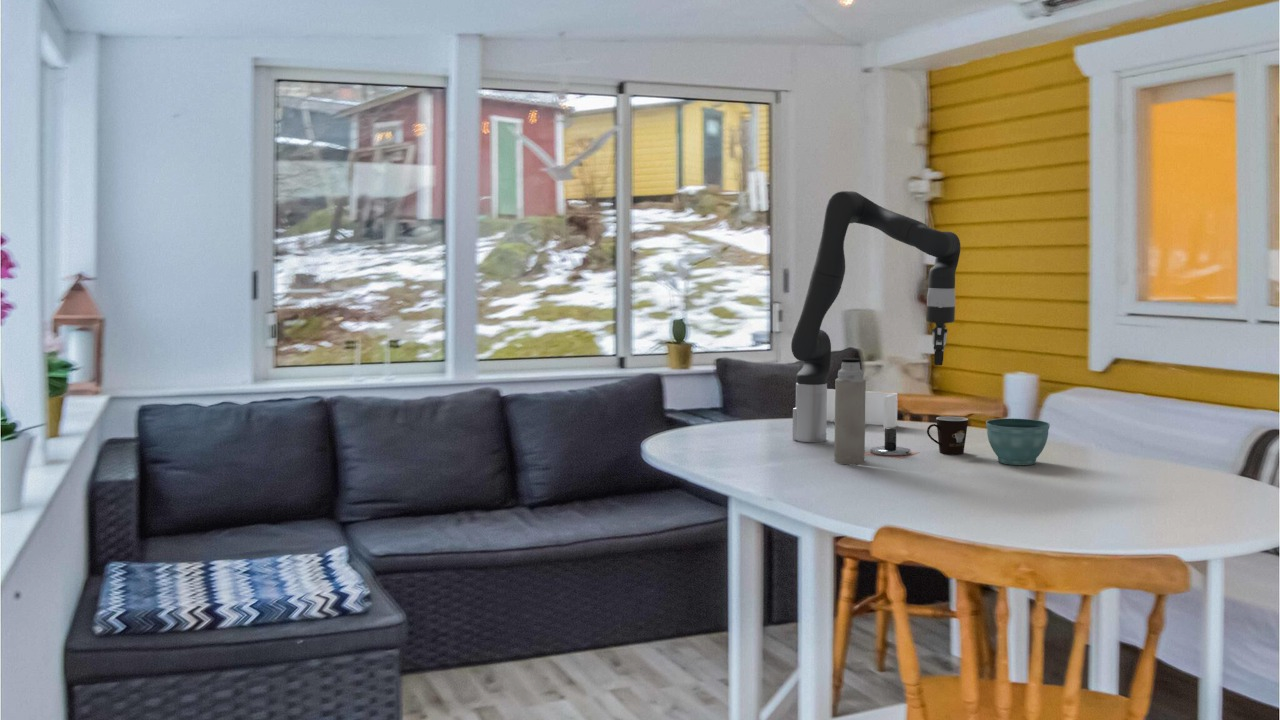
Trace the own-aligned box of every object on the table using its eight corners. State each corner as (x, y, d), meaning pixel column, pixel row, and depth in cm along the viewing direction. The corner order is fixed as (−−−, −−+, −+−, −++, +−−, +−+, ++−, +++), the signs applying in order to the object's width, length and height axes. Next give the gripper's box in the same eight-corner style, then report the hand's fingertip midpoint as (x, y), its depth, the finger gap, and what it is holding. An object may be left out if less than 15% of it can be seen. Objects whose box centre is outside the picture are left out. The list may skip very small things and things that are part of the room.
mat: (860, 455, 319) (860, 453, 319) (880, 449, 329) (880, 448, 329) (900, 459, 312) (900, 458, 312) (919, 453, 321) (919, 452, 321)
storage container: (897, 426, 374) (897, 393, 373) (886, 431, 364) (887, 396, 363) (823, 421, 386) (824, 388, 385) (812, 425, 376) (812, 392, 375)
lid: (863, 453, 319) (863, 428, 319) (881, 448, 328) (881, 424, 327) (899, 458, 313) (899, 432, 312) (917, 452, 321) (917, 427, 321)
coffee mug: (964, 451, 324) (965, 416, 323) (970, 457, 316) (971, 421, 315) (922, 451, 326) (923, 416, 325) (927, 456, 317) (927, 420, 316)
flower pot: (1017, 470, 296) (1018, 428, 295) (972, 460, 311) (973, 420, 310) (1062, 465, 304) (1063, 424, 303) (1016, 455, 318) (1017, 416, 317)
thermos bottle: (837, 458, 314) (838, 356, 312) (866, 460, 312) (868, 357, 309) (831, 463, 307) (833, 359, 304) (862, 465, 304) (863, 360, 301)
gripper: (927, 303, 323) (925, 360, 325) (925, 305, 309) (923, 365, 311) (955, 303, 321) (953, 361, 322) (954, 306, 307) (952, 366, 309)
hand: (938, 363), depth 317 cm, fingers open, 8 cm apart
